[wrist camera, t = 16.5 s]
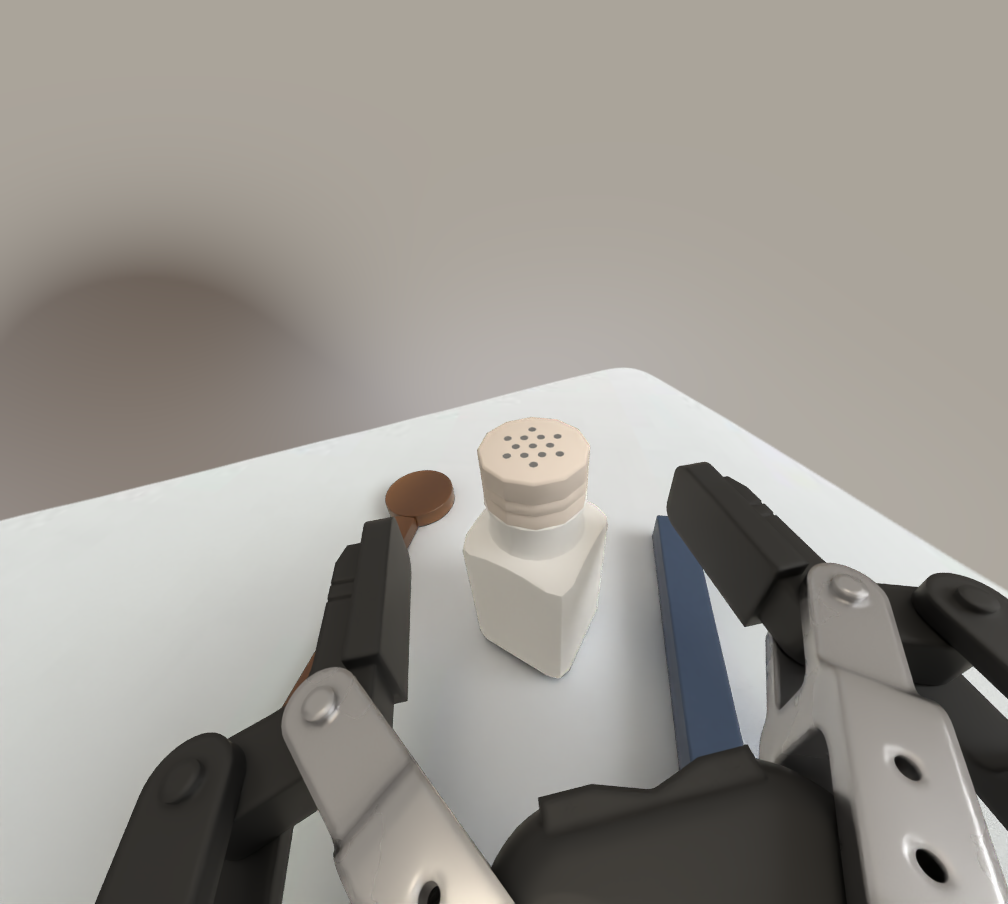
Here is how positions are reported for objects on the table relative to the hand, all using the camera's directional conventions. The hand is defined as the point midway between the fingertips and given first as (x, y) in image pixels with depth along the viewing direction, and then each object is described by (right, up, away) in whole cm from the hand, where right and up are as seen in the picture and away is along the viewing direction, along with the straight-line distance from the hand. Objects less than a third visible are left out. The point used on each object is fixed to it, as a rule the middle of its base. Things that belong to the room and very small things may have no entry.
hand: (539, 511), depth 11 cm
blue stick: (+6, -7, +4) cm, 10 cm away
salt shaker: (+1, -6, +6) cm, 8 cm away
